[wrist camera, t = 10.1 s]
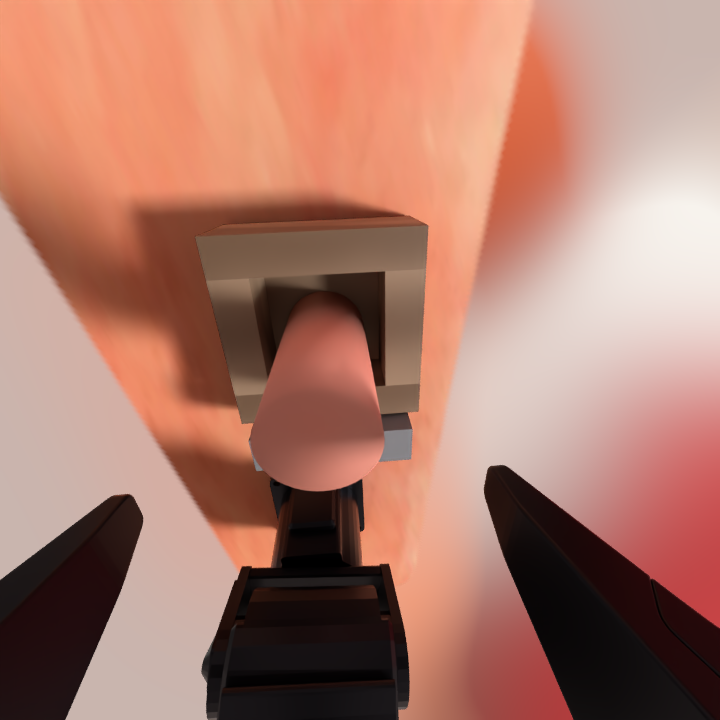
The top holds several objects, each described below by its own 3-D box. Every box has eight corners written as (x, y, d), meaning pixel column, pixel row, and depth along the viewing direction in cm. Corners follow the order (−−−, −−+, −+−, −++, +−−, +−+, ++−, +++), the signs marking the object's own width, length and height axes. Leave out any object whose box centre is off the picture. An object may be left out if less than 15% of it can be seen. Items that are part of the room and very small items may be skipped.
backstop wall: (396, 403, 22) (411, 459, 18) (271, 412, 22) (256, 471, 18) (396, 377, 21) (412, 429, 17) (266, 385, 21) (248, 440, 17)
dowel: (361, 288, 17) (384, 383, 9) (364, 358, 19) (384, 486, 11) (282, 293, 17) (237, 393, 9) (293, 363, 19) (262, 495, 11)
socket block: (404, 373, 21) (418, 411, 18) (257, 383, 21) (242, 423, 17) (409, 216, 17) (428, 225, 13) (223, 224, 16) (194, 236, 13)
